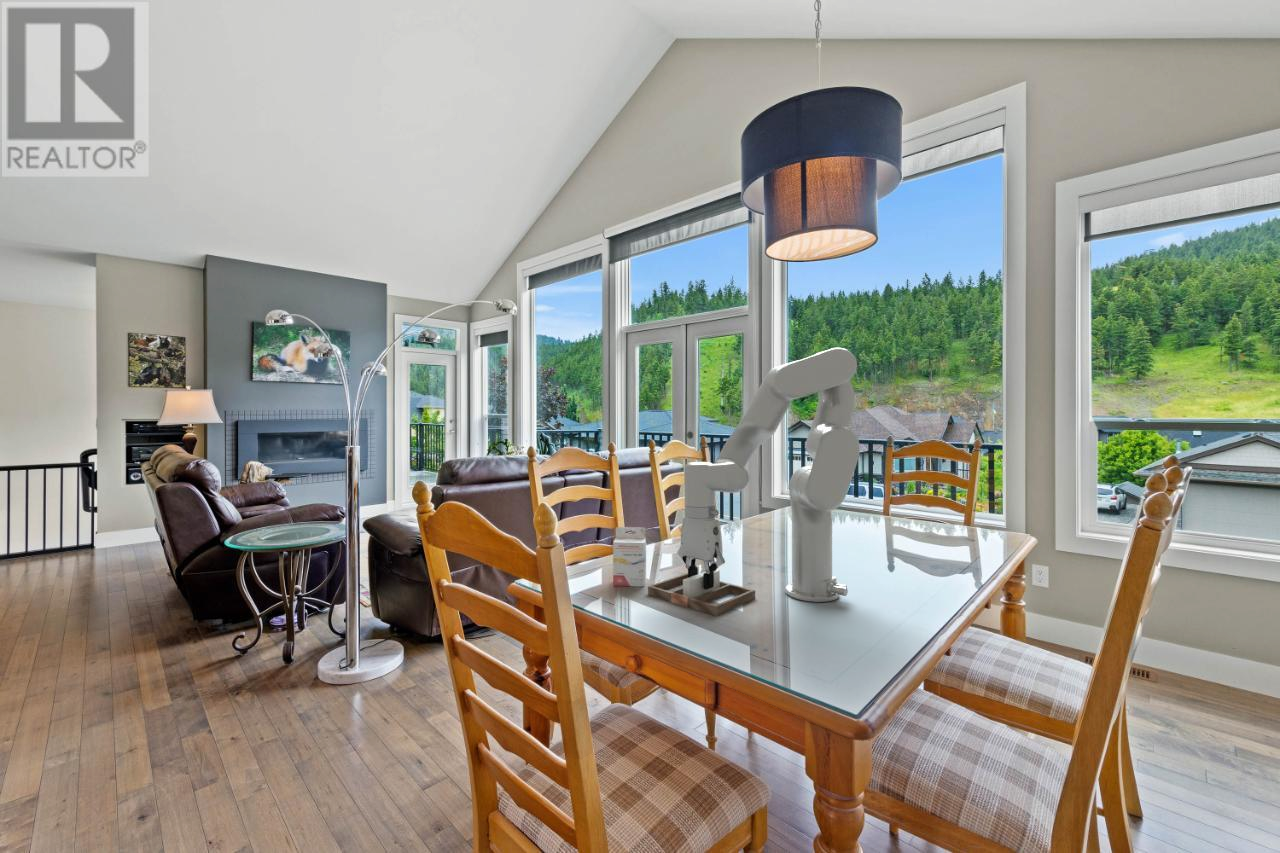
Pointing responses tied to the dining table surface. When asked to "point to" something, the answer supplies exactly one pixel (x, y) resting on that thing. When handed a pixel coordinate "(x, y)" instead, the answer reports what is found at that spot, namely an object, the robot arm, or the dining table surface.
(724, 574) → the dining table surface
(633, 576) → the ink cartridge box
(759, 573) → the dining table surface
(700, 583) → the panel
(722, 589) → the rack
